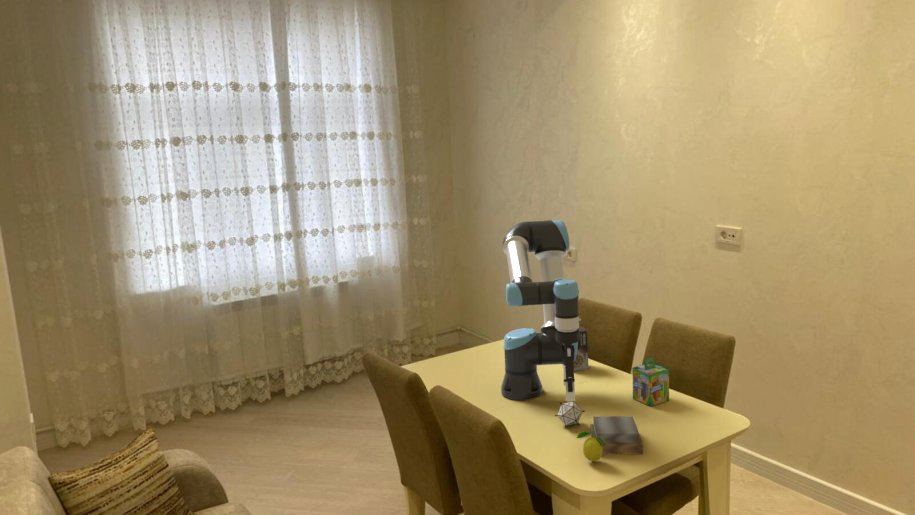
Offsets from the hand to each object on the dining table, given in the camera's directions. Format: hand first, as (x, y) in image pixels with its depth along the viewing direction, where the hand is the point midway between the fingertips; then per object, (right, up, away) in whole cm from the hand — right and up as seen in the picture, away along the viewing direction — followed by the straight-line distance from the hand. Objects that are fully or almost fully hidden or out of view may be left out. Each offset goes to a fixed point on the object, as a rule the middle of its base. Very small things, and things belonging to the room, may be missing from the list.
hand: (569, 392), depth 215 cm
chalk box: (+32, -6, +19) cm, 37 cm away
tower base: (+12, -13, -12) cm, 21 cm away
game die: (+1, -11, +2) cm, 11 cm away
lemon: (+3, -16, -22) cm, 27 cm away
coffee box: (+11, -1, +54) cm, 55 cm away
